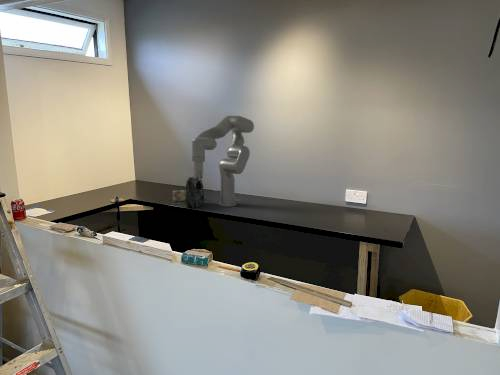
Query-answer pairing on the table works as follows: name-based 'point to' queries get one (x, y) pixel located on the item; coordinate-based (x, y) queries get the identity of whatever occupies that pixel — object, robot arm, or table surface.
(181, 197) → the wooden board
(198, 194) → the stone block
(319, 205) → the table surface
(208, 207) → the table surface
